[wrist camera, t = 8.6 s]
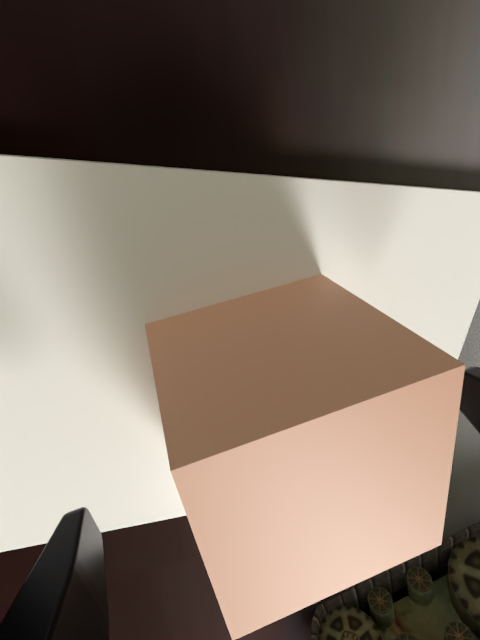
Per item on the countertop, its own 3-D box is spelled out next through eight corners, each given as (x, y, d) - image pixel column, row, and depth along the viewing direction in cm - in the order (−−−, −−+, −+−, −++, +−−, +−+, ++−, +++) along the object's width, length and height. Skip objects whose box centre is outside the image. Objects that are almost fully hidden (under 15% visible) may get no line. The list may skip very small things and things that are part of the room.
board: (499, 192, 12) (517, 195, 11) (408, 459, 16) (418, 469, 16) (-130, 143, 7) (-149, 144, 7) (-21, 539, 12) (-27, 557, 11)
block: (321, 273, 11) (465, 364, 6) (330, 409, 13) (441, 544, 9) (144, 323, 10) (170, 471, 5) (189, 460, 12) (232, 641, 8)
